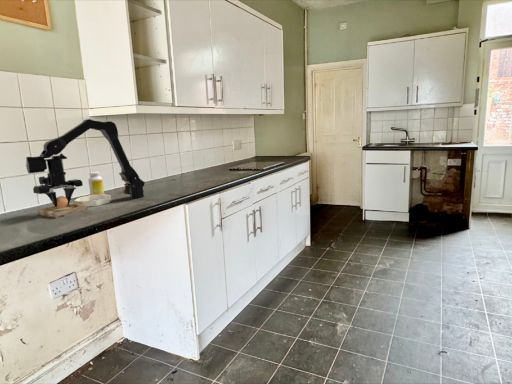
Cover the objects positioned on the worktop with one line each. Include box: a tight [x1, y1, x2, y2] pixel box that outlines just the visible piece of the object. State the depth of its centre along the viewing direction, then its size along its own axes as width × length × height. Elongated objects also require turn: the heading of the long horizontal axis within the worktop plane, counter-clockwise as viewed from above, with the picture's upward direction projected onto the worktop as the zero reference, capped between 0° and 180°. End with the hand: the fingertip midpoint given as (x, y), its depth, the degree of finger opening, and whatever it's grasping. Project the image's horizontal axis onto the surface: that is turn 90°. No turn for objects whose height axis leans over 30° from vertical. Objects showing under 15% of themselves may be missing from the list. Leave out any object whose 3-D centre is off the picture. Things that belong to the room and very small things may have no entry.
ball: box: [56, 195, 68, 208], centre depth 154 cm, size 5×5×5 cm
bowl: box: [73, 193, 112, 208], centre depth 169 cm, size 15×15×3 cm
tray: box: [37, 202, 88, 219], centre depth 155 cm, size 14×14×2 cm
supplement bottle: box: [88, 171, 105, 195], centre depth 186 cm, size 7×7×13 cm
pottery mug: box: [123, 182, 130, 195], centre depth 193 cm, size 12×10×8 cm
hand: (62, 205), depth 154 cm, fingers closed on ball, 5 cm apart
